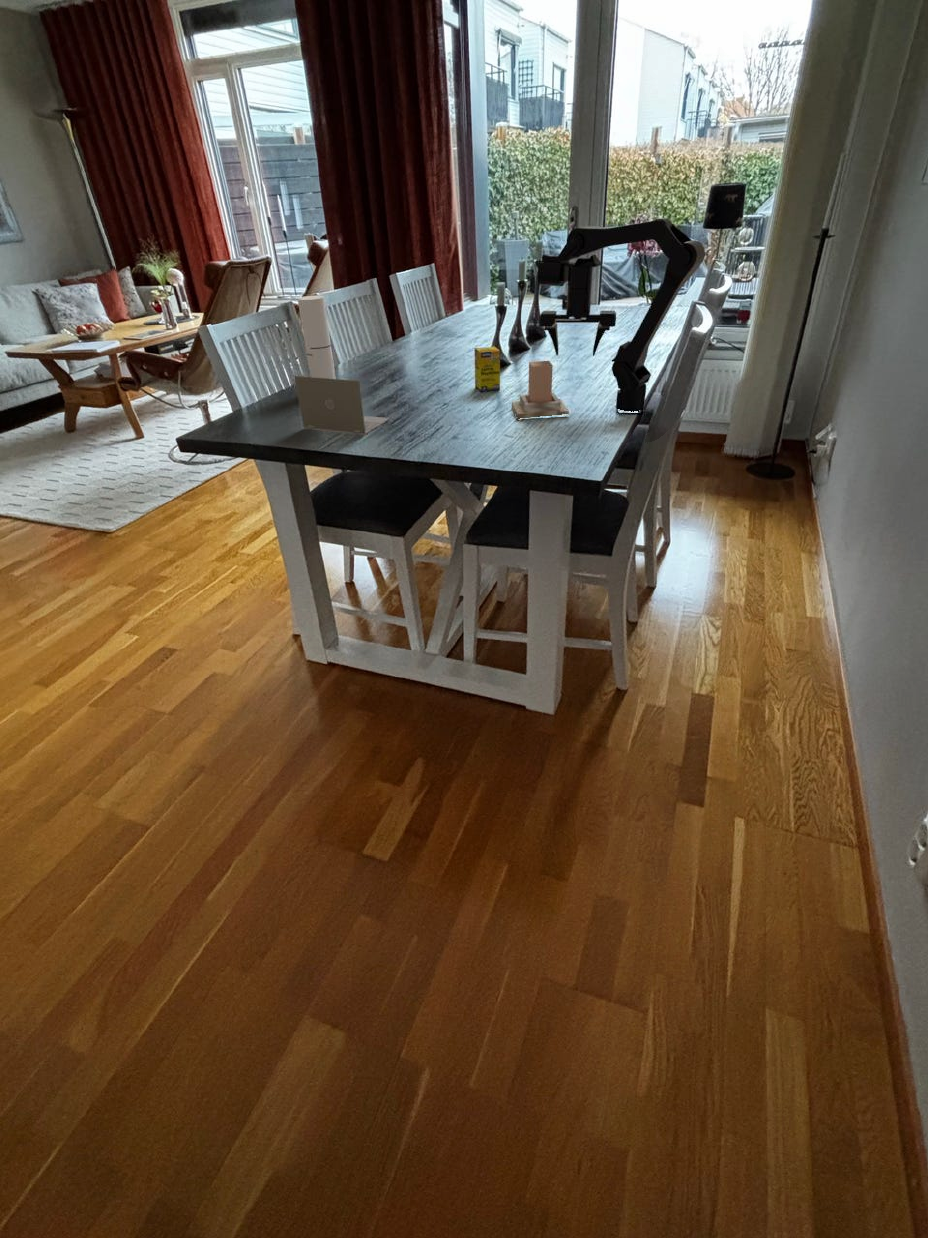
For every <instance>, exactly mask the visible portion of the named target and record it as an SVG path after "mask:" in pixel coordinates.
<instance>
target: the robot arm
mask: <svg viewBox="0 0 928 1238" xmlns="http://www.w3.org/2000/svg"><path fill="white" fill-rule="evenodd" d="M652 240H653V241H654V242H655V243H656V244H657V246H658V247H659V249H660V250H661V252H662V253H663V254H664V255H665V257H666V258H668V261H667V264H666V266H665V272H664V277H663V280H662V284H661V285H660V287H659V289H658V291H657V293H656V294H655V296H654V299H653V300H652V302H651V304H650V306H649V308H648V310H647V311H646V313H645V315H644V317H643V318H642V321H641V323H640V325H639V327H638V328H637V330H636V332H635V334H634V336H633V338H632V339H631V341H629V340H628V341H626V342H624V343H623V344H621V345H619V346H618V349H617V352H616V355H615V356H614V358H612V359H611V362H613V363H612V366H611V371H612V375H613V377H614V378H615V379H616V383H617V388H618V390H617V392H616V399H615V400H616V402H615V409H616V410H618V409H620V410H624V411H631V412H632V411H633V412H634V411H638V412H639V410H642V411H641V413H642V414H641V415H644V414H645V400H646V394H647V383H649V381H650V379H651V377H652V374H651V372H650V371H649V370H648V368H647V367H646V366H645V363H646V360H647V356H648V352H649V348H650V344H651V343H652V341H653V339H654V337H655V336H656V334H657V332H658V330H659V328H660V326H661V325H662V323H663V321H664V319H665V317H666V316H667V314H668V312H669V310H670V309H671V307H672V305H673V303H674V301H675V300H676V298H677V296H678V294H679V292H680V291H681V289H682V288H683V286H685V285H686V283H687V282H688V281H689V280H690V279H691V278H692V276H693V275H694V274H695V273H696V271H697V270H698V269H699V267H700V266H701V265H702V264H703V262H704V260H705V258H706V257H705V256H706V252H705V247H704V245H703V244H702V243H701V242H700V241H698V240H694V239H691V238H690V236H688V235H687V234H686V233H685V232H684V231H682V230H681V229H680V228H678V227H677V226H676V225H675V224H674V223H673V222H672V221H671V219H670V218H668V217H661V218H656V219H655V220H650V221H644V222H639V223H632V224H626V225H620V226H614V227H606V226H605V227H604V226H595V225H594V226H592V225H591V226H590V225H589V226H588V225H586V226H580V227H575V228H574V229H572V230H570V232H569V233H568V235H567V237H566V243H565V245H564V246H563V248H562V249H561V251H560V253H559V254H558V255H556V254H555V255H554V254H551V253H550V254H549V253H548V254H547V253H546V254H542V255H541V261H540V263H539V265H538V270H537V272H536V278H537V282H538V285H539V286H545V287H563V286H565V285H566V283H567V292H566V294H563V295H562V300H561V310H562V311H566V313H565V314H557V312H558V311H557V310H543V311H542V312H541V313H540V315H539V317H538V318H539V319H538V327H541V328H542V327H543V330H544V331H547V332H548V334H549V336H550V339H551V341H552V344H553V348H554V352H555V355H556V356H559V338H558V337H559V336H558V324H559V323H562V324H564V323H565V324H566V323H567V324H570V323H571V324H573V323H574V324H575V323H576V324H577V323H578V324H579V323H581V324H582V323H583V324H585V323H593V324H594V323H597V327H596V332H595V339H594V343H593V348H592V357H594V356H595V355H596V352H597V349H598V347H599V344H600V342H601V340H602V338H603V336H604V334H605V332H606V331H610V328H611V327H612V328H613V327H616V323H617V322H616V321H617V312H616V311H615V310H600V311H599V314H595V313H594V314H590V313H591V305H592V304H591V303H592V302H591V298H592V285H593V269H594V268H597V267H601V266H602V264H603V262H602V261H601V260H600V259H599V258H598V257H597V255H596V254H592V253H595V252H597V251H600V250H603V249H606V248H608V247H613V246H619V245H620V246H621V245H625V244H632V243H633V244H634V243H639V242H646V241H652ZM588 254H592V255H591V256H590V257H588V258H585V257H583V258H582V257H581V256H585V255H588ZM571 260H576V261H575V262H572V261H571ZM570 261H571V262H570Z"/></svg>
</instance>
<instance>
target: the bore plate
mask: <svg viewBox="0 0 928 1238" xmlns="http://www.w3.org/2000/svg"><path fill="white" fill-rule="evenodd" d="M511 409H512V411H514V412H513V413H515V414H516V416H515V418H516V417H517V418H516V420H517V419H520V418H530V417H540V416H552V415H562V414H569V415H570V411H569V408H568V407H567V406H566V405H565V403H564V401H563V400H562V399H561V398H559V397H557V394H556V393H555V392H552V394H551V402H538V403H528V393H523V394H519V400H518V401H514V400H513V401H511ZM515 414H514V415H515Z"/></svg>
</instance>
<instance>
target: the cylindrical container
mask: <svg viewBox="0 0 928 1238" xmlns="http://www.w3.org/2000/svg"><path fill="white" fill-rule="evenodd" d="M297 302H298V303H297V304H298V309H299V315H300V322H301V327H302V334H303V339H304V340H303V341H304V345H305V350H306V351H305V352H306V358H307V364H308V368H309V369H308V371H309V374H310V376H309V377H313V378H326V379H336V378H337V377H336V372H335V371H336V370H335V365H334V364H335V363H334V357H333V356H334V355H333V351H332V344H331V336H330V329H329V323H328V322H329V321H328V317H327V309H326V302H325V296H323V295H306V296H305V295H304V296H300V297H298V298H297Z"/></svg>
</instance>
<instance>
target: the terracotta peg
mask: <svg viewBox="0 0 928 1238" xmlns="http://www.w3.org/2000/svg"><path fill="white" fill-rule="evenodd" d="M552 387H553V364H552V363H551V361H549V360H537V361H536V360H535V361H529V362H528V391H527V392H528V393H527V394H528V403H538V402H551V394H552V393H553V392H552V391H553V390H552Z"/></svg>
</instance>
